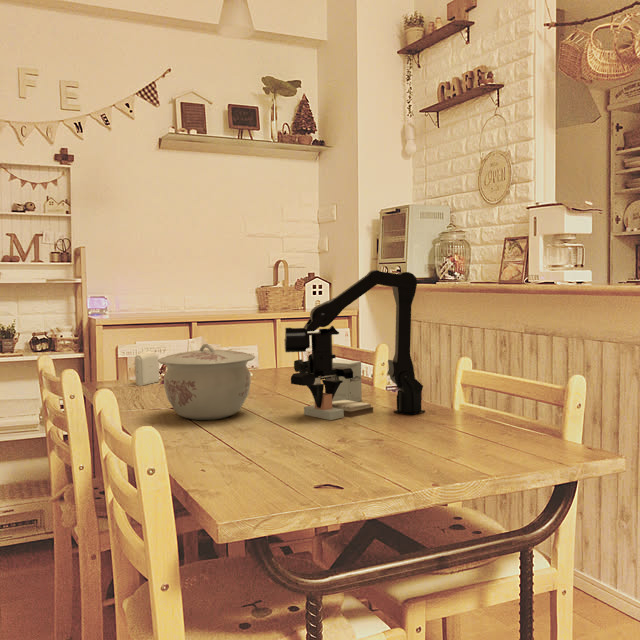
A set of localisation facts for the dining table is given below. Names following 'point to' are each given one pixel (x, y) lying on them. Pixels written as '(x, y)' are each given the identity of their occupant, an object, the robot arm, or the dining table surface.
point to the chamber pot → (207, 382)
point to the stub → (324, 409)
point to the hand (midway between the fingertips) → (323, 406)
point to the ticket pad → (353, 407)
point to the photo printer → (146, 368)
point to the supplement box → (349, 382)
